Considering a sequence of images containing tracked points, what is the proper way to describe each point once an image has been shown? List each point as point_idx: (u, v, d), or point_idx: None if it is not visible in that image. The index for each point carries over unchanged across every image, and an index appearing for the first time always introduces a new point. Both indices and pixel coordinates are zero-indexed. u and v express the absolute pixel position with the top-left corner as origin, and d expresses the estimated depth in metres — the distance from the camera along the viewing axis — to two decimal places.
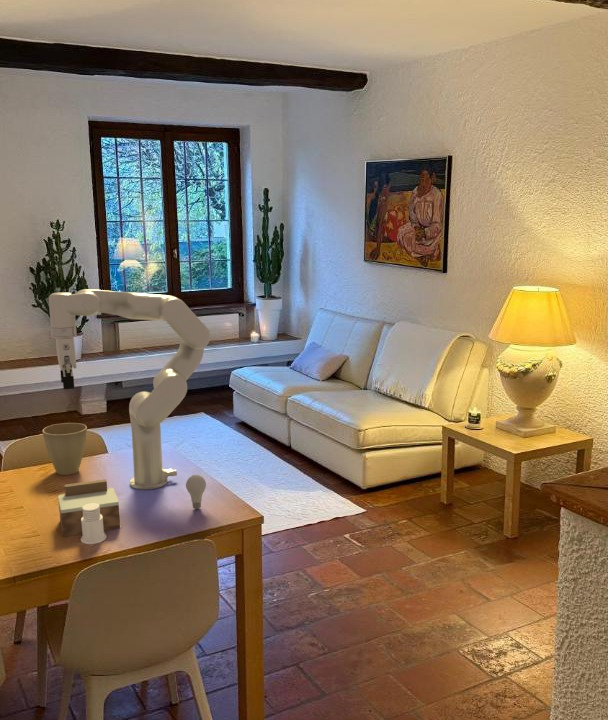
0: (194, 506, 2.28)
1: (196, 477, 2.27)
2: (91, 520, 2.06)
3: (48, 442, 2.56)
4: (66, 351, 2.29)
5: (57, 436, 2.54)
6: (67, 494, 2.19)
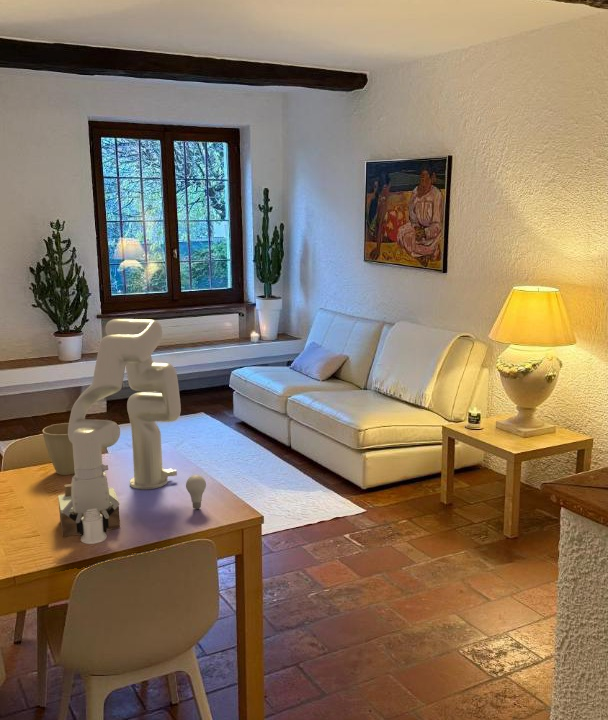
0: (194, 506, 2.28)
1: (196, 477, 2.27)
2: (91, 520, 2.06)
3: (48, 442, 2.56)
4: None
5: (57, 436, 2.54)
6: (67, 494, 2.19)
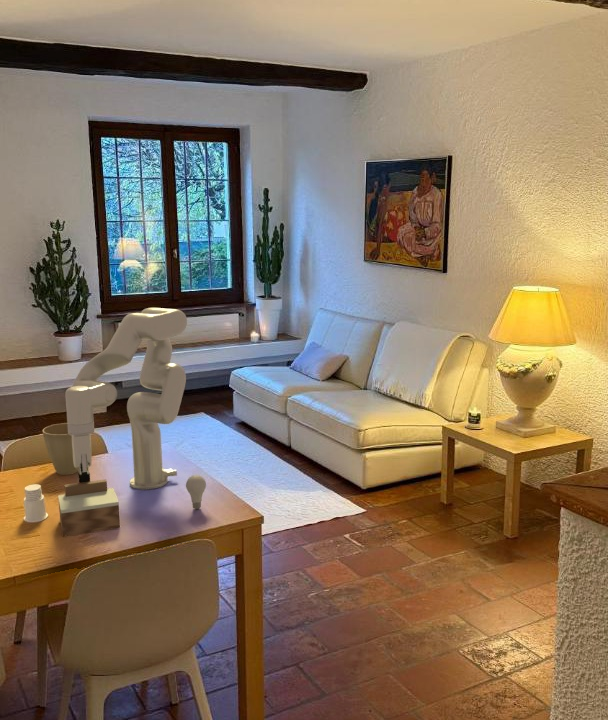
0: (194, 506, 2.28)
1: (196, 477, 2.27)
2: (32, 500, 2.21)
3: (48, 442, 2.56)
4: None
5: (57, 436, 2.54)
6: (67, 494, 2.19)
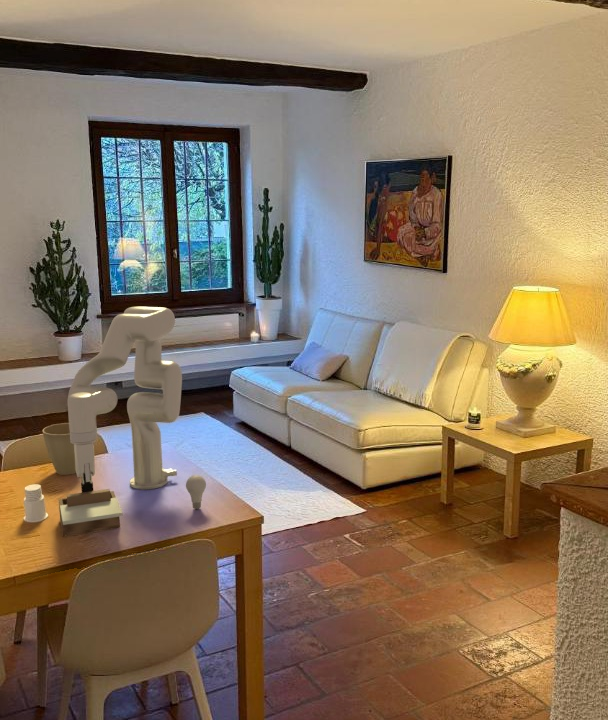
0: (194, 506, 2.28)
1: (196, 477, 2.27)
2: (33, 500, 2.21)
3: (48, 442, 2.56)
4: None
5: (57, 436, 2.54)
6: (69, 504, 2.12)
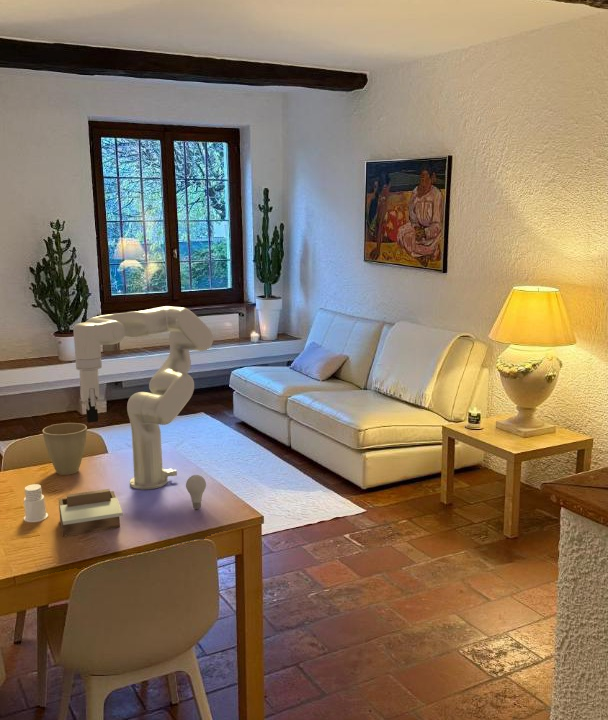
0: (194, 506, 2.28)
1: (196, 477, 2.27)
2: (33, 500, 2.21)
3: (48, 442, 2.56)
4: None
5: (57, 436, 2.54)
6: (69, 504, 2.12)
